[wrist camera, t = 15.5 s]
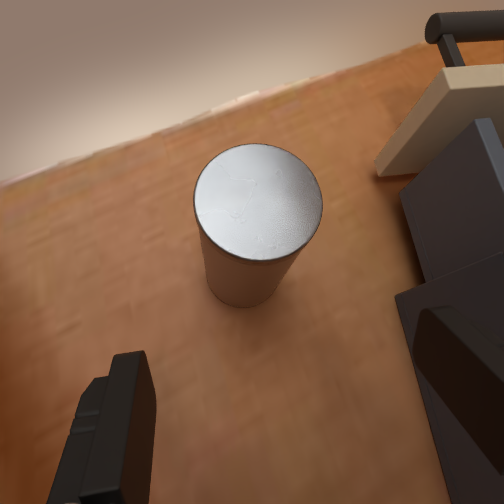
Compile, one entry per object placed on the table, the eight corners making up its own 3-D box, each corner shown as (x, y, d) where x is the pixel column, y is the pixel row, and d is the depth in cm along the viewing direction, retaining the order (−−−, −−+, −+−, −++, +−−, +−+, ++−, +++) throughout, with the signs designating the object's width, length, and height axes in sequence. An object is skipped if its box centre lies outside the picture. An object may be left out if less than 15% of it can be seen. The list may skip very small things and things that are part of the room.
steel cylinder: (210, 313, 20) (200, 269, 11) (201, 241, 21) (186, 148, 12) (285, 302, 20) (336, 252, 11) (272, 233, 22) (309, 137, 13)
